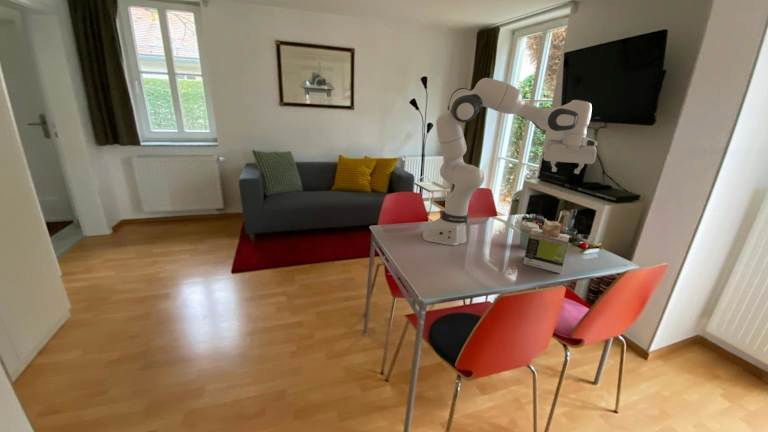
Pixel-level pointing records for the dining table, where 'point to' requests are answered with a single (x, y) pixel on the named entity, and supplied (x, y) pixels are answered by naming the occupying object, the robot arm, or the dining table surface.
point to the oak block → (551, 228)
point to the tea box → (546, 250)
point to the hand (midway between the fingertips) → (565, 172)
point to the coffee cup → (526, 233)
